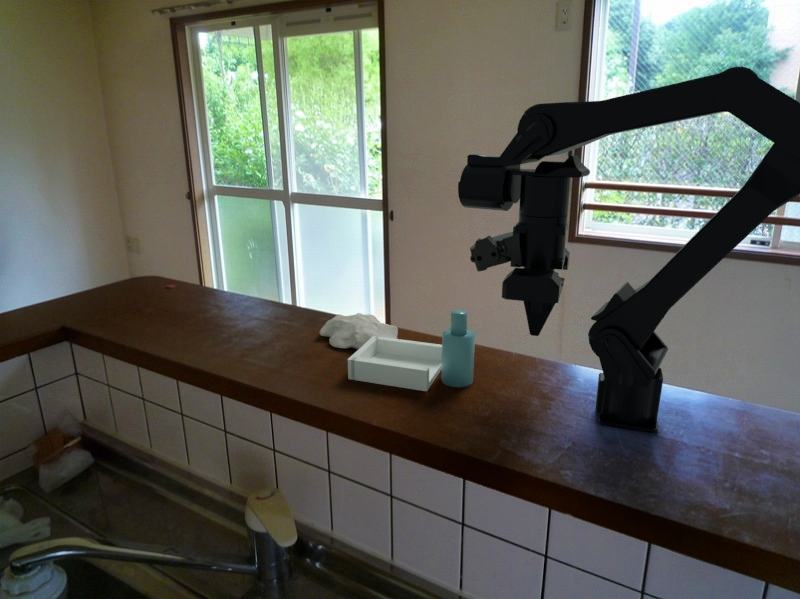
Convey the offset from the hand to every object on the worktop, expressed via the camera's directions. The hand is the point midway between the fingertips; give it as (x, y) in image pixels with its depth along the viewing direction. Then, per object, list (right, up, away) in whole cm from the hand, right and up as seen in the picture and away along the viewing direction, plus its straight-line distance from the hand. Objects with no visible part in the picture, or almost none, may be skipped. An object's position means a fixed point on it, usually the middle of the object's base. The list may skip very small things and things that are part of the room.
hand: (534, 334), depth 72 cm
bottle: (-9, -7, +6) cm, 13 cm away
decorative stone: (-24, -3, +20) cm, 31 cm away
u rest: (-17, -6, +8) cm, 20 cm away
